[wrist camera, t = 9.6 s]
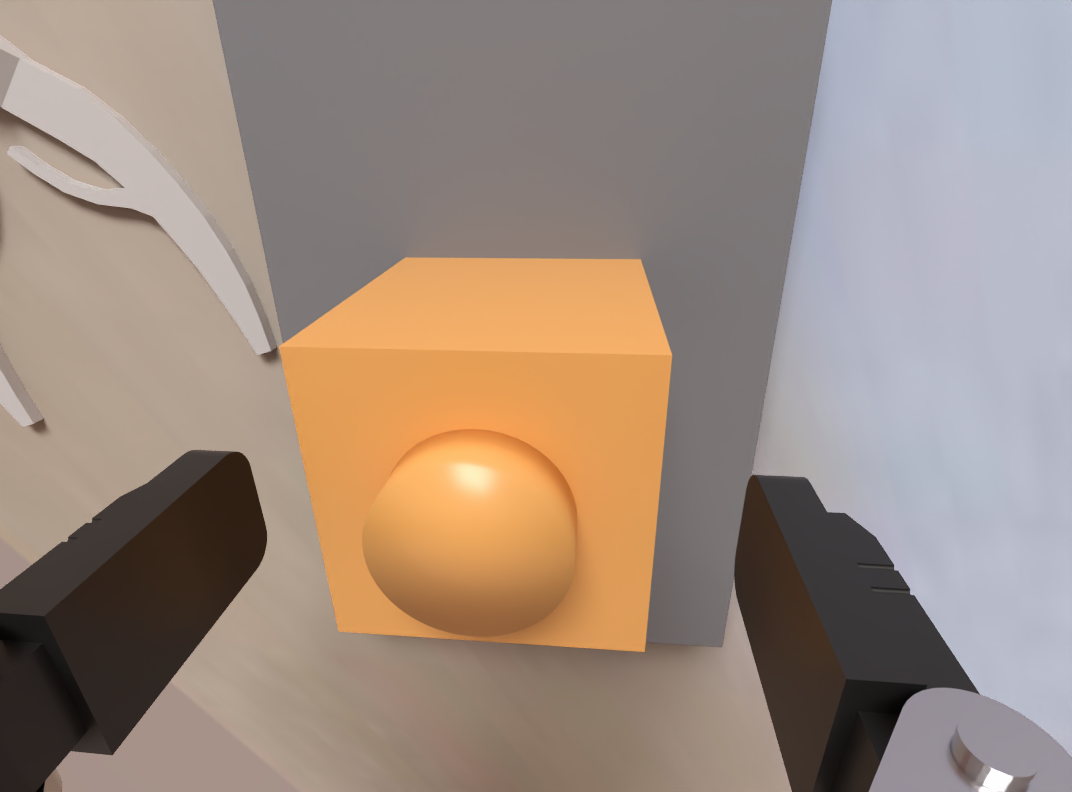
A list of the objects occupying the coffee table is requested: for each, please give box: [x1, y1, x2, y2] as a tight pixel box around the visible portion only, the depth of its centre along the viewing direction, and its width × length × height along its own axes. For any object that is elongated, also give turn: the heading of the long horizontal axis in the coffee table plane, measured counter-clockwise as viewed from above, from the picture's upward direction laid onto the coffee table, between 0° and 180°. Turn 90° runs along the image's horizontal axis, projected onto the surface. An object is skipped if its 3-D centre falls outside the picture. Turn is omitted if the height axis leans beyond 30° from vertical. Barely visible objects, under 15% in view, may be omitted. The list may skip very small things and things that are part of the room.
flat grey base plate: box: [213, 0, 832, 647], centre depth 13 cm, size 12×18×7 cm, turn 0°
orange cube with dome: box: [279, 257, 672, 652], centre depth 11 cm, size 5×5×7 cm
